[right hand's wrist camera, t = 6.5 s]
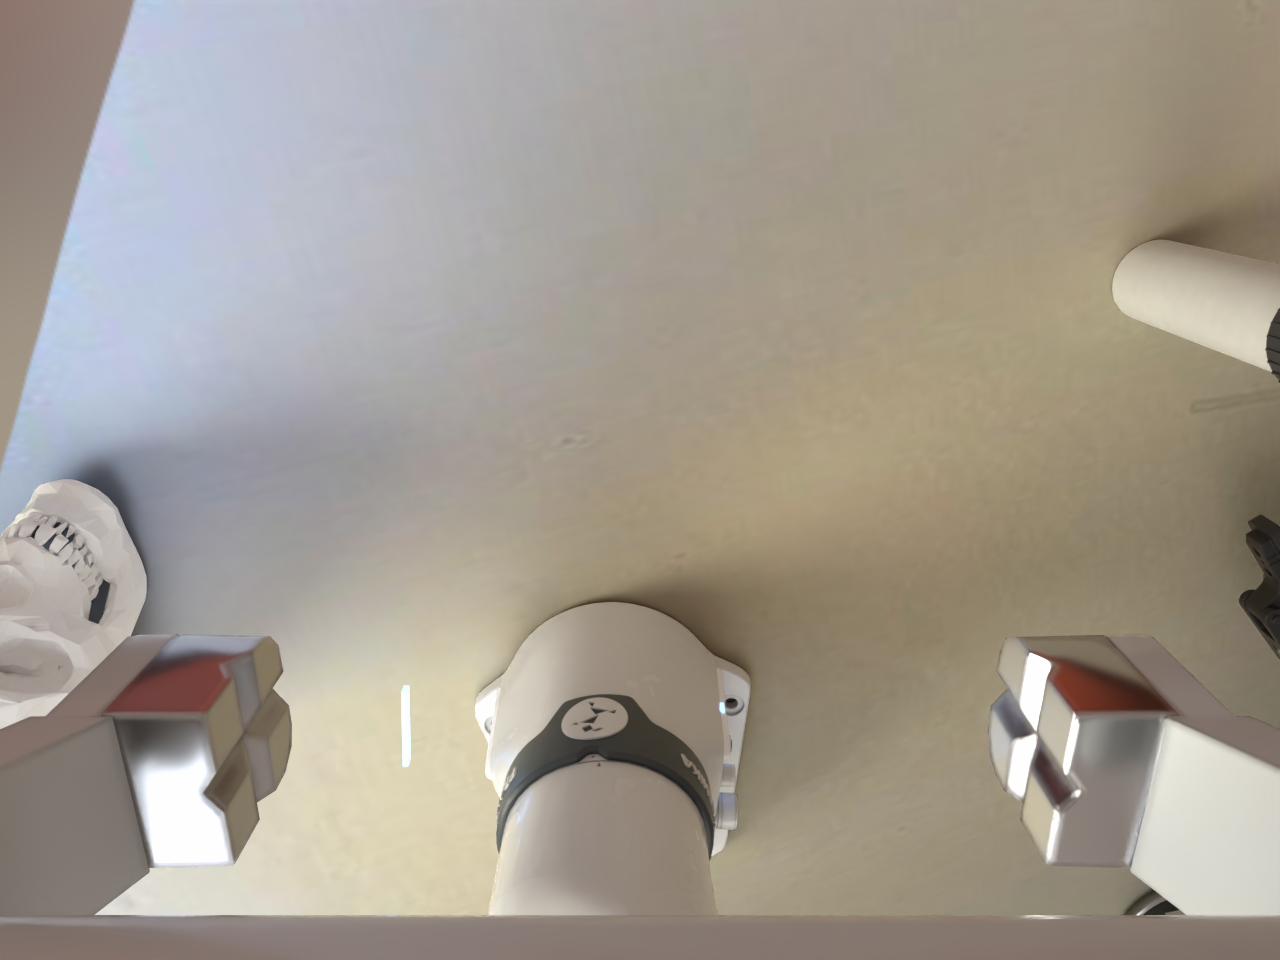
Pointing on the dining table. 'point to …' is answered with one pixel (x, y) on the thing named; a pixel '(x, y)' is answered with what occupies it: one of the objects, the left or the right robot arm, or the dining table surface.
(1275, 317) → the lid
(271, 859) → the dining table surface
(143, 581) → the skull
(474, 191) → the dining table surface
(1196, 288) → the white bottle
